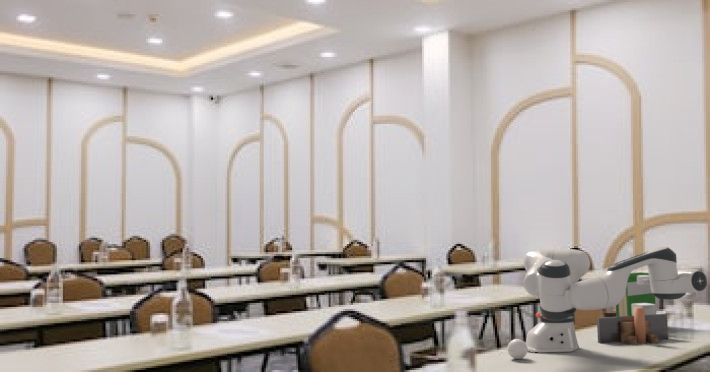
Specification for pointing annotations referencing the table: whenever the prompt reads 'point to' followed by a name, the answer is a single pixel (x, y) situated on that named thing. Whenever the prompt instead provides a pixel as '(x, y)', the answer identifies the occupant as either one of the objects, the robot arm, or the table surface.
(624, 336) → the notch block
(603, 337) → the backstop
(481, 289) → the table surface
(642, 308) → the dowel
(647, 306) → the supplement box
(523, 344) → the seamed sphere
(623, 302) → the hardback book
